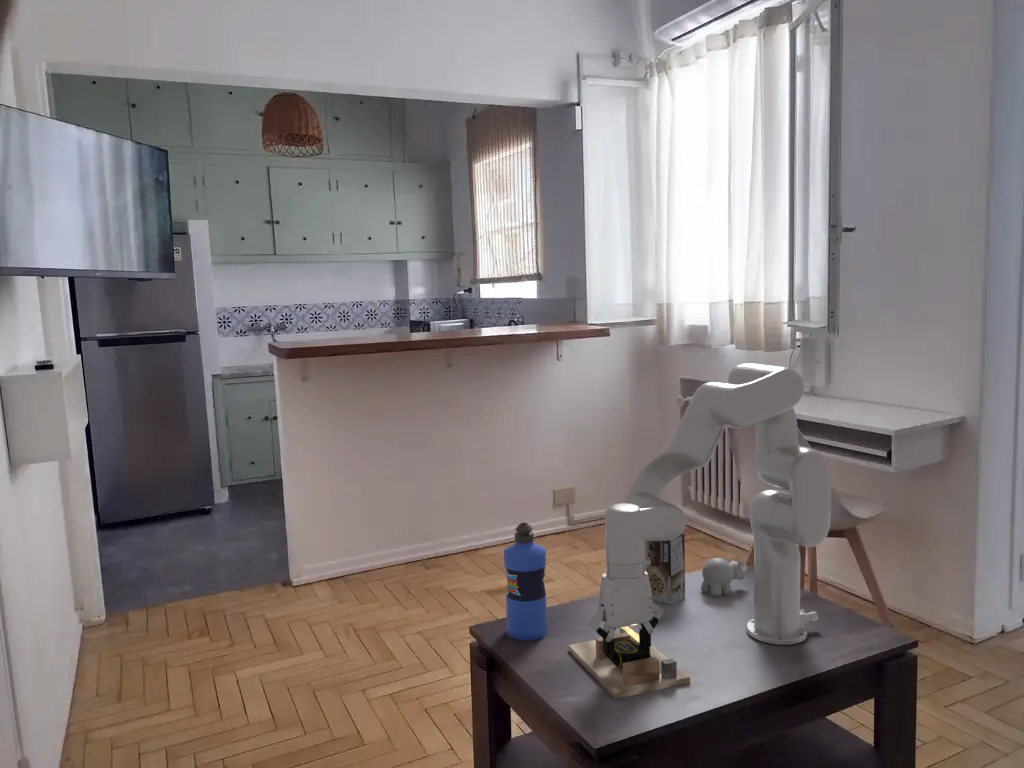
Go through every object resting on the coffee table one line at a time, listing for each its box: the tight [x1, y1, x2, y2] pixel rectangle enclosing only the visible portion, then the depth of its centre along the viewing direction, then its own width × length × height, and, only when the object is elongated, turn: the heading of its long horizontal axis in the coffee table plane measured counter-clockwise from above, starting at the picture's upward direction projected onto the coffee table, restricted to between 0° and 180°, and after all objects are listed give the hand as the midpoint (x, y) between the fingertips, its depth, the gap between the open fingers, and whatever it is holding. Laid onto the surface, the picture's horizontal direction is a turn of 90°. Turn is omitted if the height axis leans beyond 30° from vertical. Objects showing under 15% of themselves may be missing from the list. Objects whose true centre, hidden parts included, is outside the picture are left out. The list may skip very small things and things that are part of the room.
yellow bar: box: [619, 626, 639, 645], centre depth 168 cm, size 2×10×2 cm, turn 19°
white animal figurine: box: [700, 557, 747, 597], centre depth 199 cm, size 8×12×9 cm, turn 111°
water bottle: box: [503, 522, 548, 642], centre depth 178 cm, size 9×9×25 cm
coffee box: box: [645, 533, 686, 605], centre depth 196 cm, size 9×6×16 cm
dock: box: [568, 631, 691, 700], centre depth 162 cm, size 16×22×5 cm
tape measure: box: [612, 640, 651, 668], centre depth 158 cm, size 7×7×4 cm
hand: (627, 653), depth 158 cm, fingers closed on tape measure, 7 cm apart
